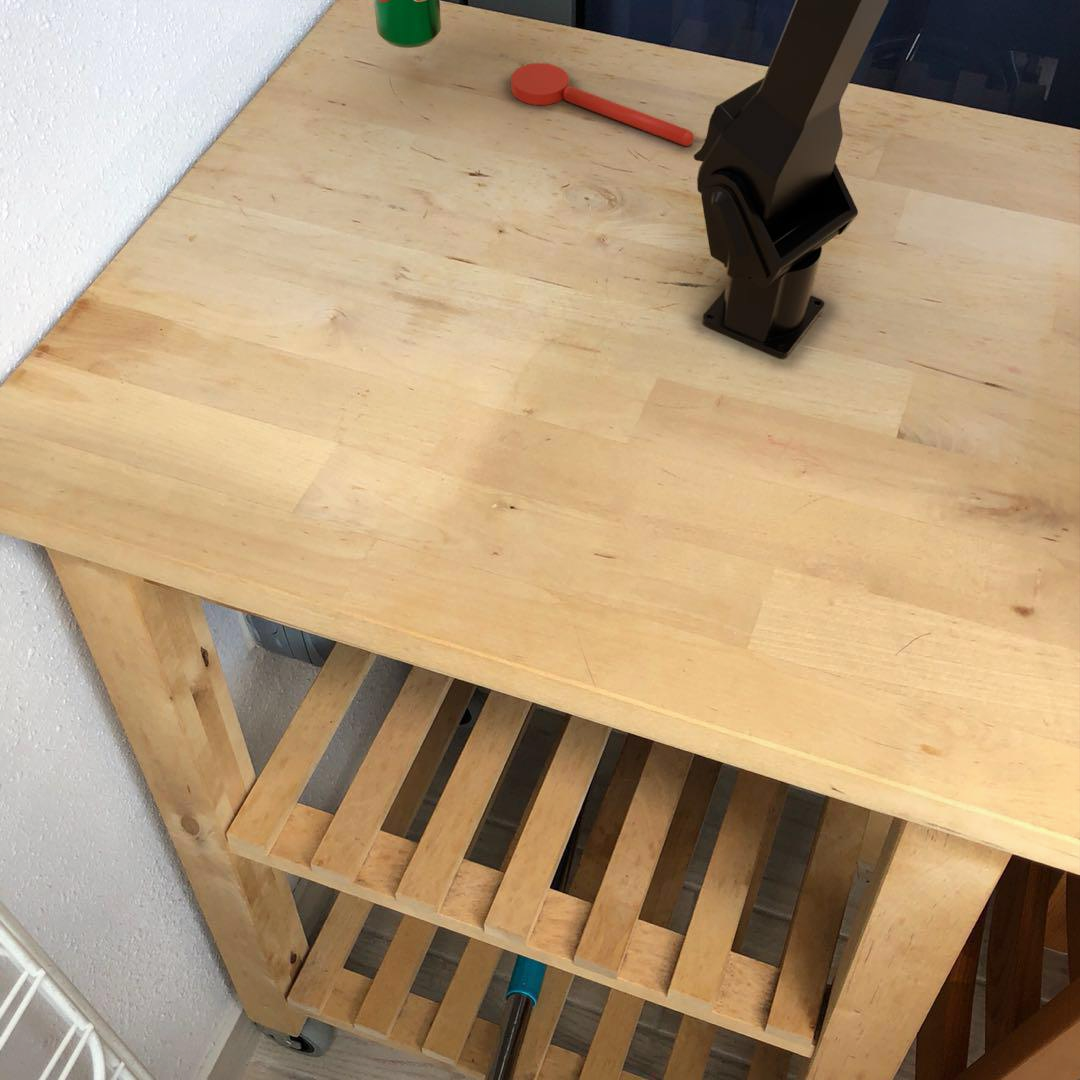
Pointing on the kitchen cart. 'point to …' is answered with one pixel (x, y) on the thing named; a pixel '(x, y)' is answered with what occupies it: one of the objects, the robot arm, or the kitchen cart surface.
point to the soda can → (408, 21)
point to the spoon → (585, 100)
